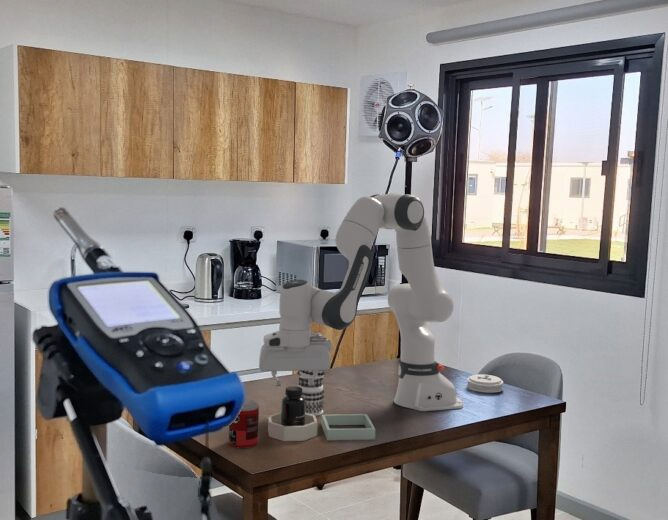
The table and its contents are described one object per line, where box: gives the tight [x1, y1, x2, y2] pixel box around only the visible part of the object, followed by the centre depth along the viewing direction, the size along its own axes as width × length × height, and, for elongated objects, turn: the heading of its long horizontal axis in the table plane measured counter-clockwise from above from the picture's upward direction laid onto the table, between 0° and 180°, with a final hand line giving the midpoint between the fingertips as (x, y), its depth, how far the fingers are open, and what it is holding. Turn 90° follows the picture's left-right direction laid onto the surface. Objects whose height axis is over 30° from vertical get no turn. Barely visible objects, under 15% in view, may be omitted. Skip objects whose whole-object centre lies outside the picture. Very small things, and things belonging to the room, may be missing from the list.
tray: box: [320, 413, 376, 441], centre depth 212 cm, size 14×14×3 cm
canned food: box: [228, 400, 260, 449], centre depth 200 cm, size 8×8×11 cm
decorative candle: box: [296, 331, 326, 417], centre depth 229 cm, size 9×9×25 cm
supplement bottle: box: [280, 385, 305, 426], centre depth 209 cm, size 7×7×12 cm
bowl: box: [267, 411, 318, 442], centre depth 210 cm, size 14×14×4 cm
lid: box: [466, 373, 504, 393], centre depth 261 cm, size 13×13×5 cm
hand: (294, 385), depth 209 cm, fingers open, 8 cm apart
